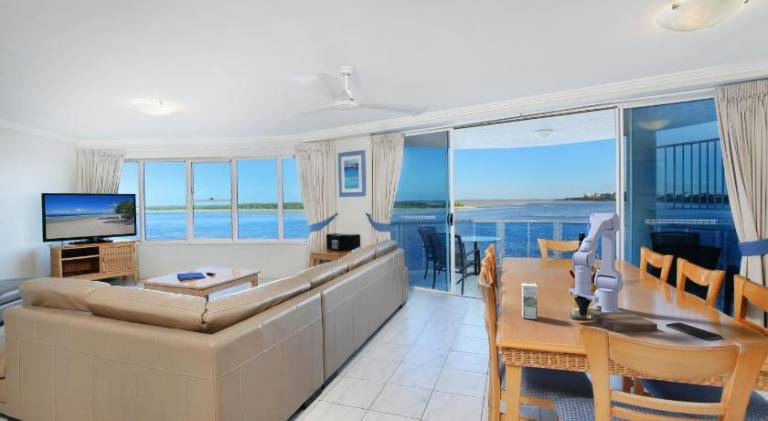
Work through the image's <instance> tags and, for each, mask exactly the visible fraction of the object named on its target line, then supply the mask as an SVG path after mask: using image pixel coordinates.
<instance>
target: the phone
mask: <svg viewBox="0 0 768 421" xmlns="http://www.w3.org/2000/svg"><path fill="white" fill-rule="evenodd" d="M665 327H666V328H668V329H671V330H674V331H676V332H680V333H682V334H686V335H688V336H691V337H695V338H698V339H700V340H704V341H706V342H707V341H709V342H711V341H715V340H723V335H722V334H719V333H715V332H712V331H709V330H707V329H702V328H700V327H699V328H698V327H696V326H694V325H693V326H692V325H689V324H686V323H683V322H672V323H667V324H665Z"/></svg>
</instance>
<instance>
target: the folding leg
mask: <svg viewBox="0 0 768 421" xmlns="http://www.w3.org/2000/svg"><path fill="white" fill-rule="evenodd" d="M601 312H602V311H601V306H596V307H593V306H588V309H587V315H586V316H587V317H588V316H591V315H600V314H601ZM570 315H572V316H574V317H578V316H581V315H580V313H579V307H578V308H577V307H575V308H570V309H569V316H570Z"/></svg>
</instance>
